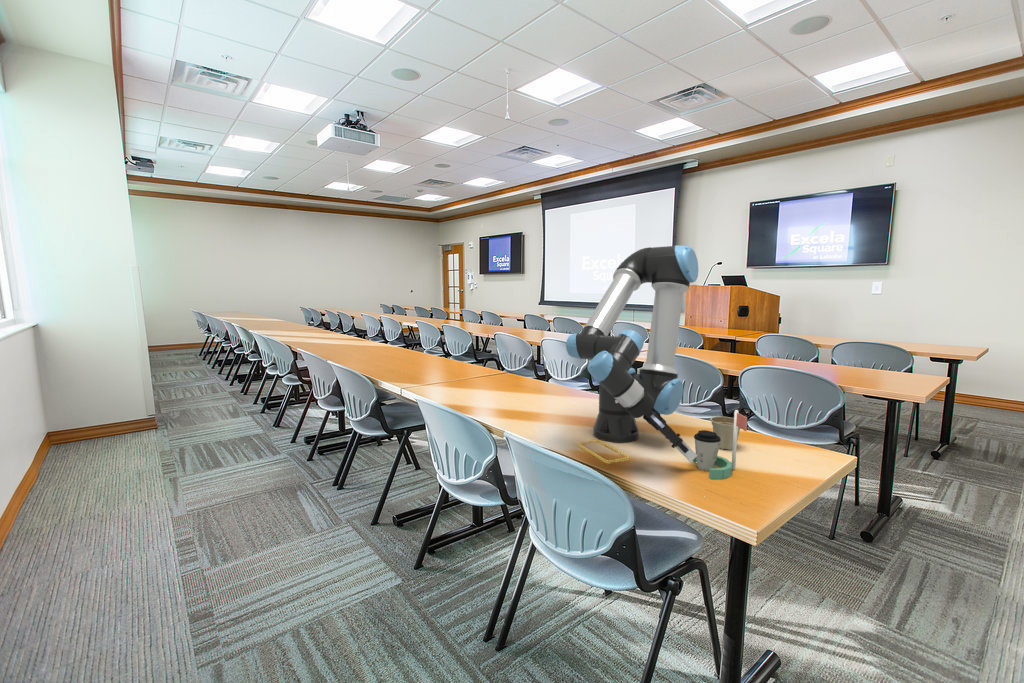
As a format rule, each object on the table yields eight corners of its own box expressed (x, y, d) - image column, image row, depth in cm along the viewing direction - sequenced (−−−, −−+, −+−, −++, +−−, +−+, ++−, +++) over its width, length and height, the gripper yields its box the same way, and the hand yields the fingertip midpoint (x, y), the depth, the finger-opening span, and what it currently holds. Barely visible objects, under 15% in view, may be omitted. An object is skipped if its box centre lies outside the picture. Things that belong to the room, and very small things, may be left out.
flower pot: (745, 446, 144) (747, 420, 143) (736, 454, 137) (738, 426, 136) (714, 440, 150) (716, 414, 149) (704, 447, 143) (706, 420, 142)
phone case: (598, 443, 149) (598, 439, 149) (630, 461, 133) (630, 457, 133) (576, 446, 146) (576, 442, 145) (606, 465, 130) (606, 461, 130)
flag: (730, 468, 126) (733, 409, 124) (734, 468, 126) (737, 409, 124) (741, 477, 120) (745, 415, 118) (745, 477, 120) (748, 415, 118)
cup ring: (691, 461, 132) (692, 453, 131) (718, 461, 132) (718, 452, 131) (711, 479, 119) (711, 470, 119) (740, 478, 119) (740, 469, 119)
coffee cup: (725, 471, 124) (726, 436, 123) (702, 473, 123) (704, 438, 122) (708, 462, 131) (710, 428, 130) (687, 464, 129) (688, 430, 128)
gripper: (618, 402, 129) (674, 458, 131) (630, 414, 116) (692, 476, 118) (637, 384, 129) (693, 440, 131) (652, 394, 116) (713, 457, 118)
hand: (692, 457), depth 125 cm, fingers closed
